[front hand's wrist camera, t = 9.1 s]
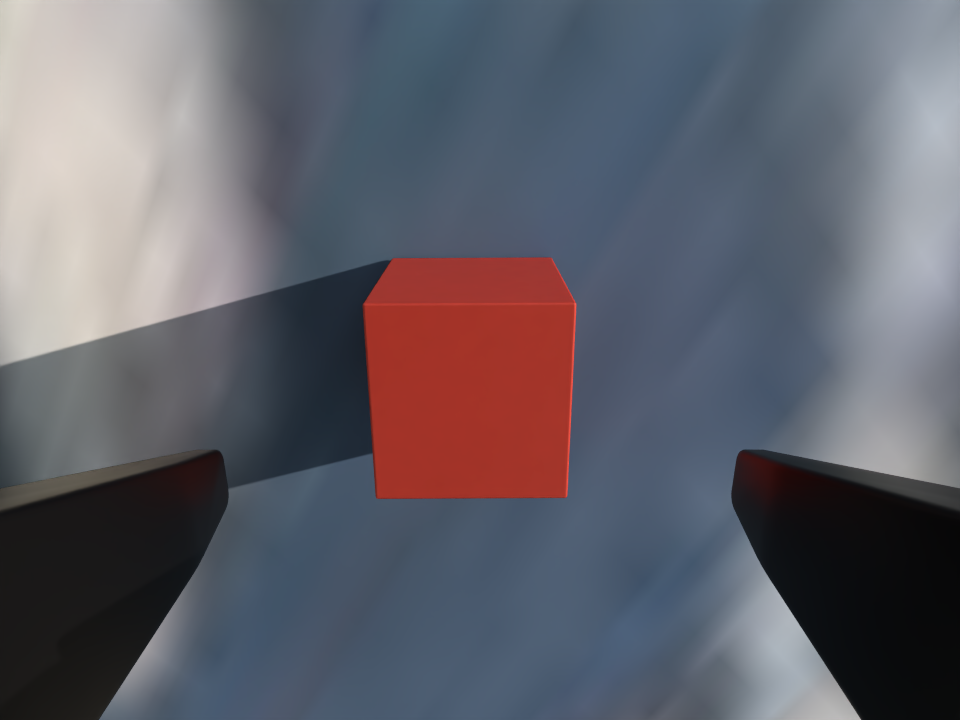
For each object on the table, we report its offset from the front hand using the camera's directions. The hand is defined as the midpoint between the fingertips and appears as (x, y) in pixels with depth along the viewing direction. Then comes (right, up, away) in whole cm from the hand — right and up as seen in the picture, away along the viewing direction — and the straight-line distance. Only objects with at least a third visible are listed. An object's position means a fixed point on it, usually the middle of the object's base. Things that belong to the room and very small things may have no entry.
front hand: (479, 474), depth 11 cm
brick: (0, +3, +8) cm, 8 cm away
